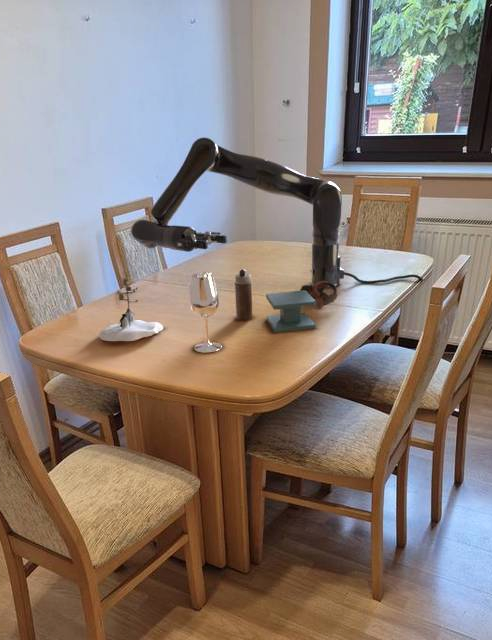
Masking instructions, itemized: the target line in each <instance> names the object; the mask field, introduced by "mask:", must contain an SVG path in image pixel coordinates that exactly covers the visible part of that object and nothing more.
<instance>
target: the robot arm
mask: <svg viewBox="0 0 492 640" xmlns="http://www.w3.org/2000/svg"><path fill="white" fill-rule="evenodd" d="M206 172H209V173H215V174H219V175H222V176H225V177H229V178H231V179H233V180H236V181H238V182H240V183H242V184H243V185H246V186H248V187H251V188H253V189H256V190H258V191H261V192H263V193H268V194H270V195H274V196H280V197H289V198H295V199H297V200H300V201H302V202H305V203H307V204H309V205H311V206H312V226H311V267H310V269H309V270H310V271H309V272H310V273H311V277H310V278H311V279H310V280H311V282H310V286H312V287H313V286H314V285H315V284H316V283H317V282H319V281H328V282H331V283H333V284H334V285H335V286H336V287H338V286H340V285H341V283H340V282H341V280H343V279H344V278H345V276H348V277H350V278H353V279H354V280H355V281H356V282H358V283H360V284H380V283H387V282H390V281H395V280H401V279H402V280H403V279H408V278H416V279H417V280H419V281H424V278H423V277H421V276H420V275H418V274H406V275H398V276H393V277H389V278H385V279H376V280H363V279H359V278H358V277H357V275H354V274H353V273H349V272H346V271H345V269H344V268H343V267H341V257H340V232H341V231H340V230H341V223H342V201H343V199H342V198H343V197H342V192H341V190H340V188H339V187H338V186H337V184H336V183H334V182H332V181H329V180H325V179H320V178H315V177H311V176H307V175H304V174H301V173H299V172H298V171H296V170H293V169H291V168H289V167H287V166H285V165H283V164H279V163H277V162H275V161H271V160H268V159H266V158H262V157H259V156H255V155H249V154H243V153H242V154H241V153H238V152H234V151H231V150H229V149H227V148H224V147H222V146H220V145H218V144H216V142H214V140H212V139H211V138H209V137H199V138H197V139H196V140H194V141H193V143H192V144H191V146H190V148H189V151H188V153H187V155H186V157H185V159H184V161H183V163H182V164H181V166H180V168H179V170H178V171H177V172H176V175H175V176H173V179H172V180H171V181H170V182H169V184H168V186H166V188H165V189H164V191H163V192H162V193H161V194H160V196H159V197H158V198H157V200H156V202H155V203H154V204H153V206H152V207H151V208H150V215H151V216H152V217H153V219H154V221H152V220H147V219H139V220H136V221H135V222H133V224H132V225H131V227H130V228H131V229H130V235H131V237H132V238H133V239H134V240H135V241H136V242H138V243H139V244H141V245H142V246H144V247H145V248H147V249H150V250H152V249H153V250H154V249H155V248H157V247H159V248H163V249H170V250H173V251H180V252H188V253H190V252H192V251H194V250H197V249H198V250H199V249H200V250H207V249H208V248H209V246H210V245H211V244H227V243H228V239H227V238H228V237H227V235H223V234H221V232H219V231H218V232H217V231H208V230H206V231H205V232H202V231H200V232H197V231H196V229H195V228H194V227H192V226H188V225H177V224H174V225H173V224H172V225H169V222H170V221H172V219H173V217H174V216H175V214H176V213H177V212H178V210H179V209H180V207H181V206H182V204H183V202H184V201H185V199H186V198H187V196H188V195H189V193H190V191H191V189H192V188H193V186H194V185H195V184H196V183H197V181H198V180H199V179H200V178H201V177H202V176H203V175H204V174H205V173H206ZM208 245H209V246H208ZM328 288H331V287H330V286H328V287H326V288H325V289H328Z"/></svg>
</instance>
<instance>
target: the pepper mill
mask: <svg viewBox="0 0 492 640" xmlns="http://www.w3.org/2000/svg"><path fill="white" fill-rule="evenodd" d="M252 291H253V290H252V281H251V275H250V274H249V273H247V272H246V270H245V269H240V270H239V272H238V274H236V275H235V281H234V294H235V298H234V299H235V315H236V320H237V321H240V322H241V321H243V322H244V321H245V322H247V321H250V320H252V319H253V318H254V315H253V292H252Z"/></svg>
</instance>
